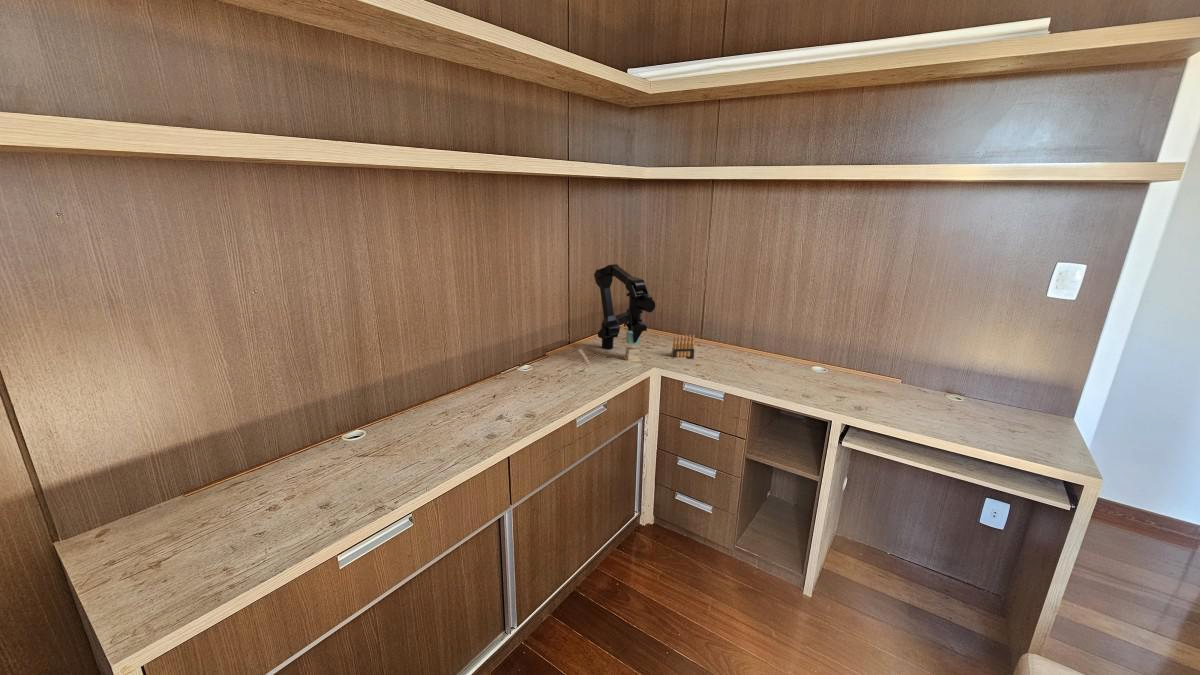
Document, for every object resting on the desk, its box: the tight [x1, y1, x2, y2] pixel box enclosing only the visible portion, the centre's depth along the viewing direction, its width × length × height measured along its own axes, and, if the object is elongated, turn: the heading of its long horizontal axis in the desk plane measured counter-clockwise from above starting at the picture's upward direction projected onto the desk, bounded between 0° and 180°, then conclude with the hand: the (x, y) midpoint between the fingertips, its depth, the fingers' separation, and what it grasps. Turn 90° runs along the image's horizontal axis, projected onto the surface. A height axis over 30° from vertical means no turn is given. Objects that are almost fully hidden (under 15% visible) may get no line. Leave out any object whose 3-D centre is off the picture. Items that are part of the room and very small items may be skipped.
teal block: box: [625, 330, 641, 346], centre depth 227 cm, size 5×5×5 cm
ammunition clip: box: [670, 334, 695, 360], centre depth 234 cm, size 11×2×12 cm, turn 101°
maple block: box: [624, 345, 640, 362], centre depth 229 cm, size 5×5×5 cm
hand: (632, 340), depth 227 cm, fingers closed on teal block, 5 cm apart
